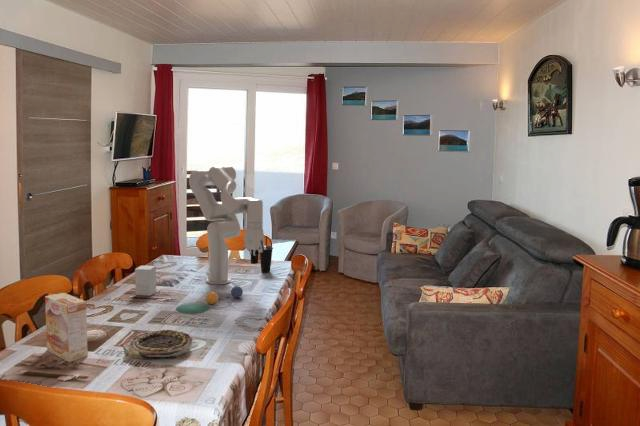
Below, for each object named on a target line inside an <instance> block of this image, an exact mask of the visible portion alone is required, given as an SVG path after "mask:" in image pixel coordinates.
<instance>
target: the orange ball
mask: <svg viewBox="0 0 640 426" xmlns="http://www.w3.org/2000/svg"><path fill="white" fill-rule="evenodd" d="M218 300H219V295H218V294H217V293H216V292H215V291H209V292H208V293H206V294H205V301H206V302H207V303H208V304H209V305H215V304H216V303H217V302H218Z"/></svg>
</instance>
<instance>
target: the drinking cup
mask: <svg viewBox="0 0 640 426" xmlns="http://www.w3.org/2000/svg"><path fill="white" fill-rule="evenodd" d="M273 249H274V248H273V247H272V246H271V245H268V236H265V244H264V248H263V252H261V253H259V258H260V271H261V273H263V274H264V273H265V274H266V273H270V272H271V265H272V256H273Z"/></svg>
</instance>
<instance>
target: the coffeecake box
mask: <svg viewBox="0 0 640 426" xmlns="http://www.w3.org/2000/svg"><path fill="white" fill-rule="evenodd" d="M44 303H45V304H44V305H45V306H44V307H45V327H46V328H45V330H46V351H47V352H49V353H51V354H53V355H55V356H56V357H59V358H60V359H62V360H64V361H66V362H68V363H71V362H73V361H77V360H80V359H84V358H86V357H88V356H89V355H88V324H87V323H88V322H87V300H83V299H81V298H78V297H76V296H74V295H71V294H68V293H67V292H66V293H65V292H60V293H56V294H55V293H54V294H49V295H45V296H44Z"/></svg>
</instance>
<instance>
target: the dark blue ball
mask: <svg viewBox="0 0 640 426" xmlns="http://www.w3.org/2000/svg"><path fill="white" fill-rule="evenodd" d="M243 292H244V291H243V288H242V287H241V286H238V285H236V286H233V287H232V288H231V289H230V295H231V296H232V297H233V298H234V299H239V298H241V297H242V296H243Z"/></svg>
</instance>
